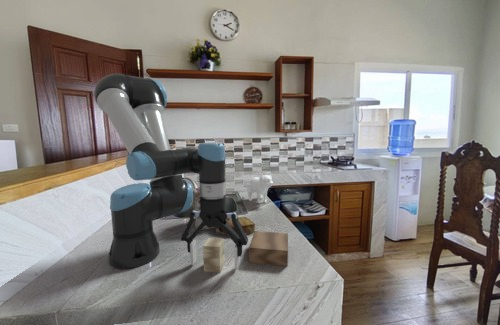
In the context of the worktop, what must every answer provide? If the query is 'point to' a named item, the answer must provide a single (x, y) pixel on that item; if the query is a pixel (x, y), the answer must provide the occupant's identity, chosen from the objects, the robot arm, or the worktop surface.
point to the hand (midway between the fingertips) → (215, 263)
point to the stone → (245, 223)
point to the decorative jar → (198, 207)
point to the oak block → (214, 255)
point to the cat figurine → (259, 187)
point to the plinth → (269, 248)
